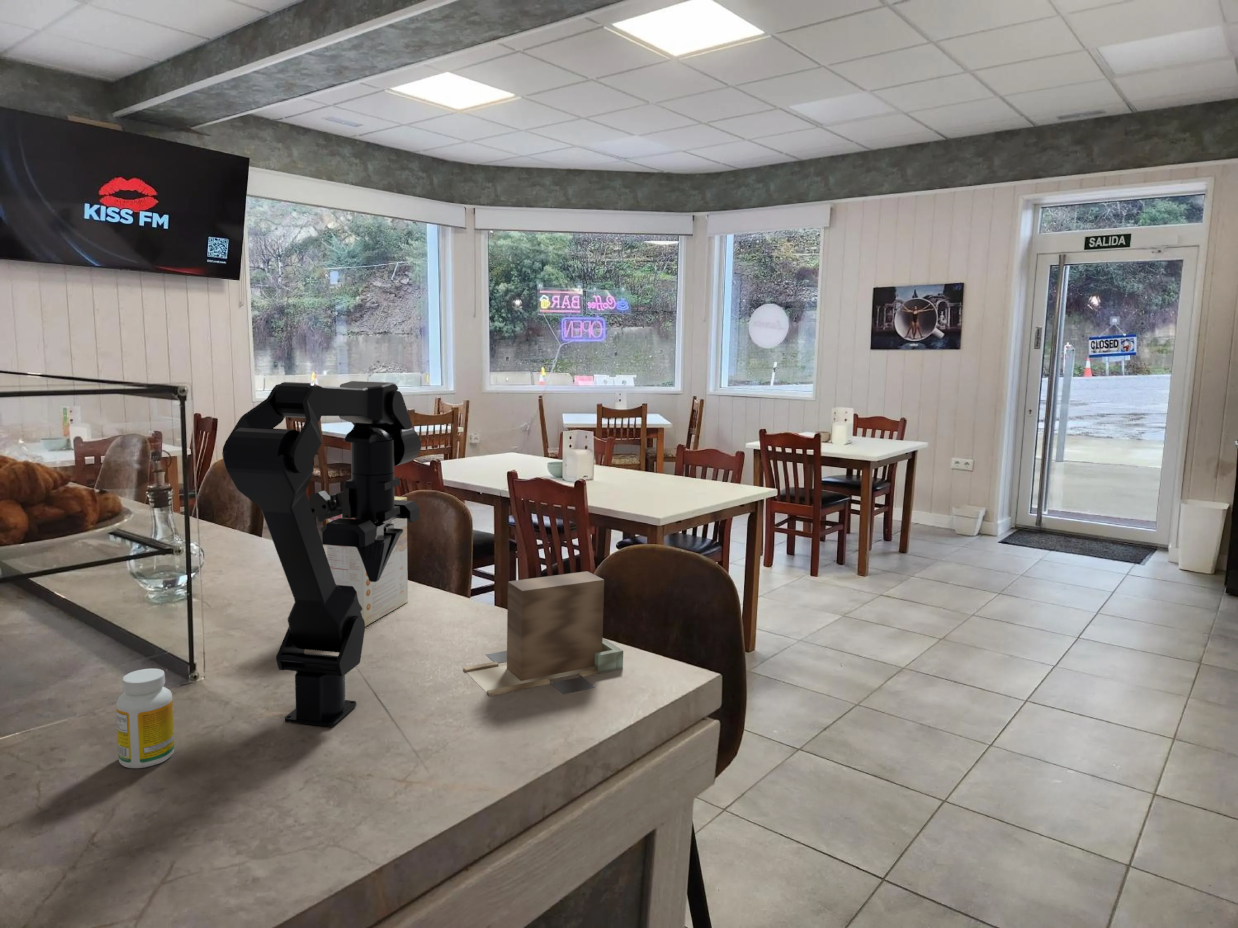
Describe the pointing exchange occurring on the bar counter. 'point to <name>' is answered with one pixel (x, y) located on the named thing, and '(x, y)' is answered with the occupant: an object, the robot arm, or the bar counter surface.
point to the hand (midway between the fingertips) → (374, 581)
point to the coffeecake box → (352, 572)
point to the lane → (505, 681)
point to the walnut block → (554, 624)
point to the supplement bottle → (144, 719)
